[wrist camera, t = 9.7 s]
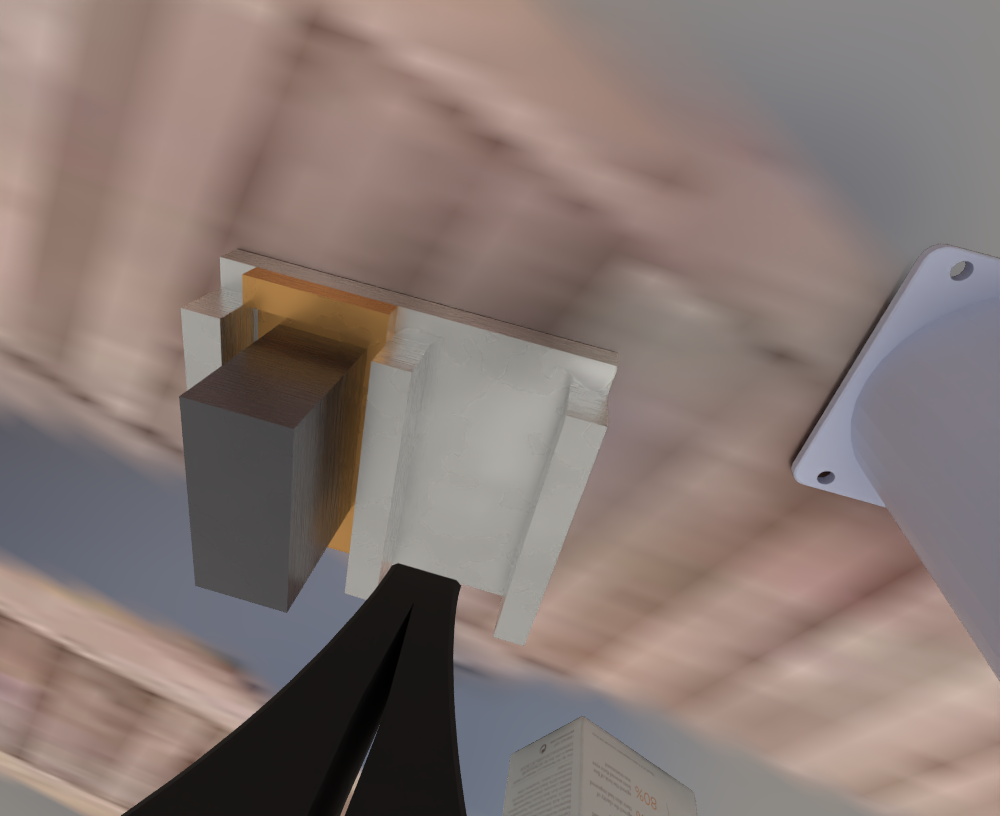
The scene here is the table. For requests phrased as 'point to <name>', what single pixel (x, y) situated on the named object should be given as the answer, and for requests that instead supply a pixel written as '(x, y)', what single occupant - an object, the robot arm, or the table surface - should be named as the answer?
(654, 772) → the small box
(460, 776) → the robot arm
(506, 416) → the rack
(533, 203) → the table surface
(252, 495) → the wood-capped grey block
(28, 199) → the table surface
